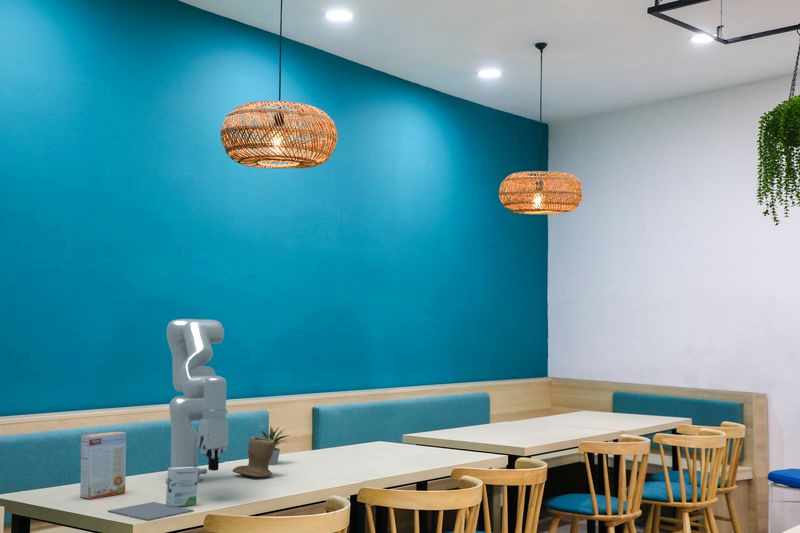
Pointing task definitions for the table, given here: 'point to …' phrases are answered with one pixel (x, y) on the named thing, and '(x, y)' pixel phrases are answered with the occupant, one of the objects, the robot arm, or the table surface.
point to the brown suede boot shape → (257, 458)
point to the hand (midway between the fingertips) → (213, 469)
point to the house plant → (276, 450)
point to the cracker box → (103, 464)
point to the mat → (150, 511)
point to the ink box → (181, 486)
